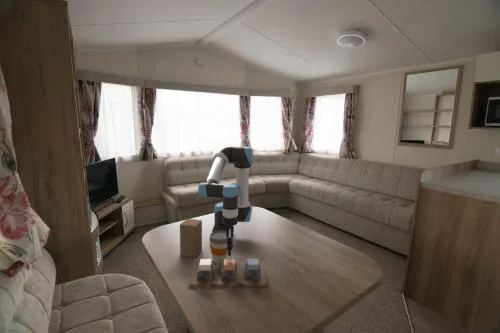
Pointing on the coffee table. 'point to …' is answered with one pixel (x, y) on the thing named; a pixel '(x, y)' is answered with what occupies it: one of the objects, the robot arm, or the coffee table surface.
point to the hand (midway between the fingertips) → (229, 260)
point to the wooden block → (190, 238)
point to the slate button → (252, 264)
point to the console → (228, 277)
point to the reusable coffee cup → (218, 246)
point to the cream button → (205, 265)
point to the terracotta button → (229, 265)
